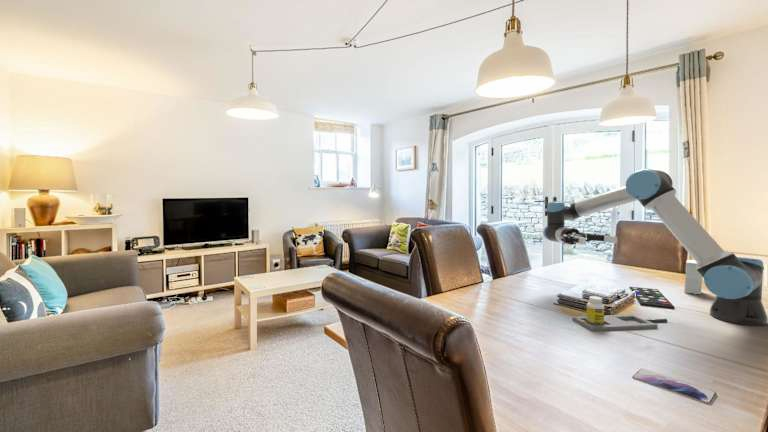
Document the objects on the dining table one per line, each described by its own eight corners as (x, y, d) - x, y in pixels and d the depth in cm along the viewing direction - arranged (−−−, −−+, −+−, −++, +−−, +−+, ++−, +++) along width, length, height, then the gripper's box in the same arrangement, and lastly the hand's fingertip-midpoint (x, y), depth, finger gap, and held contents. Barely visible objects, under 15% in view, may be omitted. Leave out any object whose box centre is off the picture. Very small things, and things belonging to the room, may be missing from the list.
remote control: (640, 306, 148) (640, 301, 148) (629, 289, 175) (629, 285, 175) (674, 310, 143) (674, 305, 143) (657, 292, 170) (657, 288, 169)
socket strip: (653, 316, 134) (653, 312, 134) (680, 327, 123) (680, 322, 123) (572, 319, 131) (572, 315, 131) (592, 331, 120) (592, 326, 120)
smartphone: (710, 404, 77) (631, 376, 89) (710, 407, 77) (631, 379, 89) (717, 392, 82) (640, 367, 93) (717, 395, 82) (640, 370, 94)
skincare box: (684, 289, 172) (685, 259, 171) (701, 291, 168) (702, 260, 167) (684, 293, 165) (685, 261, 165) (701, 295, 161) (702, 263, 161)
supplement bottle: (595, 328, 123) (595, 300, 122) (582, 322, 128) (583, 296, 127) (607, 326, 124) (608, 299, 124) (594, 321, 129) (595, 294, 129)
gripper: (593, 242, 164) (629, 249, 143) (542, 244, 162) (571, 250, 140) (593, 226, 164) (629, 230, 143) (542, 228, 161) (571, 232, 140)
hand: (600, 240), depth 141 cm, fingers open, 13 cm apart
